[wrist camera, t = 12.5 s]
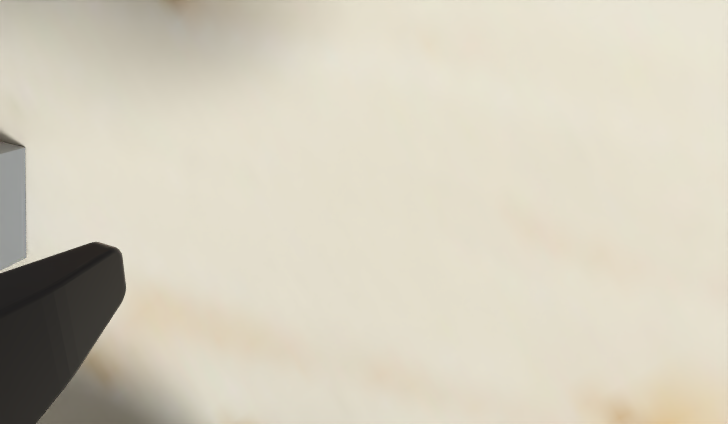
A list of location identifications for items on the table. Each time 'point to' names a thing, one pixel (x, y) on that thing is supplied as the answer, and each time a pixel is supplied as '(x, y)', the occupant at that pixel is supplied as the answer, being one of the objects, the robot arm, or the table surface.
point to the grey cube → (12, 204)
